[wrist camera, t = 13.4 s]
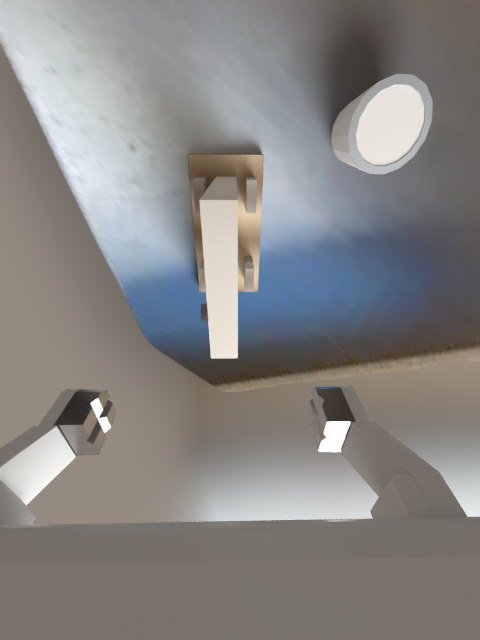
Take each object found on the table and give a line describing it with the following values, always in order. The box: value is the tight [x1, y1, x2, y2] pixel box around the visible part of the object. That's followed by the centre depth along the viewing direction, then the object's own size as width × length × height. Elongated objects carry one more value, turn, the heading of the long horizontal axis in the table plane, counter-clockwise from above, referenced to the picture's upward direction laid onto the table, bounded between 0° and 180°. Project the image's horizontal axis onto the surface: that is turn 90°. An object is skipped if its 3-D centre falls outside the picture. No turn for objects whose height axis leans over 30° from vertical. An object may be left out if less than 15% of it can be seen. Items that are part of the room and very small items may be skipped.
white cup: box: [331, 74, 432, 174], centre depth 25 cm, size 7×7×7 cm
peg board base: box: [188, 154, 264, 292], centre depth 31 cm, size 16×8×6 cm, turn 0°
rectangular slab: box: [199, 177, 238, 358], centre depth 25 cm, size 12×3×16 cm, turn 0°
